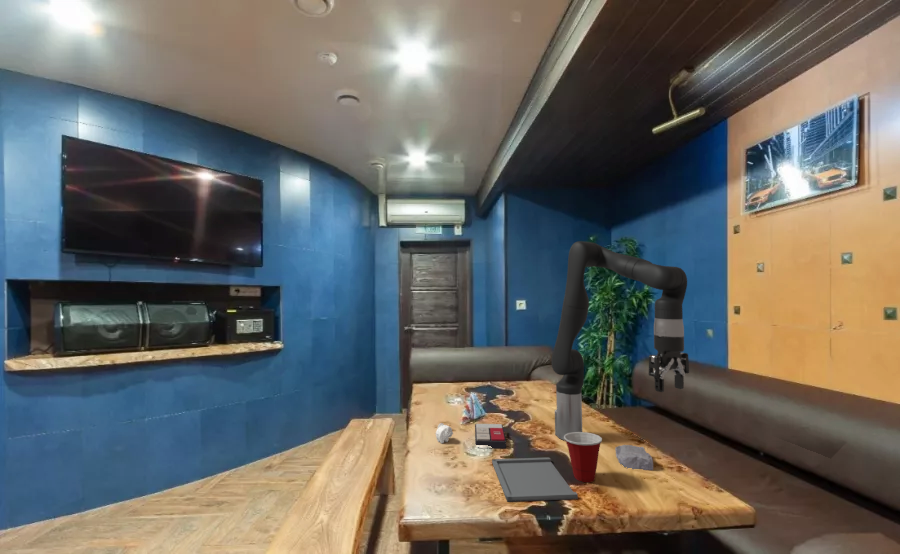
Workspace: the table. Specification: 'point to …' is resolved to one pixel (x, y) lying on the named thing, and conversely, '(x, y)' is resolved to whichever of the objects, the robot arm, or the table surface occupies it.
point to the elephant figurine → (443, 433)
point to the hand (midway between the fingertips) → (669, 389)
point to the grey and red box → (490, 435)
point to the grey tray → (531, 480)
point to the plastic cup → (583, 454)
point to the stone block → (634, 457)
